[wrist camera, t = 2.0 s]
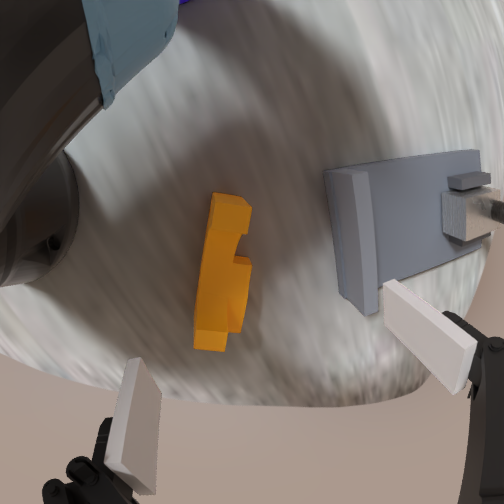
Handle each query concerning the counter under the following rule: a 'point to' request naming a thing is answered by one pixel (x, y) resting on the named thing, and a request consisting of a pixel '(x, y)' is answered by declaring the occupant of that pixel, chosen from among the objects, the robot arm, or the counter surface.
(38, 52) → the robot arm
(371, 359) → the counter surface
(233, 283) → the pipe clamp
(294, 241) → the counter surface
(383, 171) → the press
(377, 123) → the counter surface
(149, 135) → the counter surface
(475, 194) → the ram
